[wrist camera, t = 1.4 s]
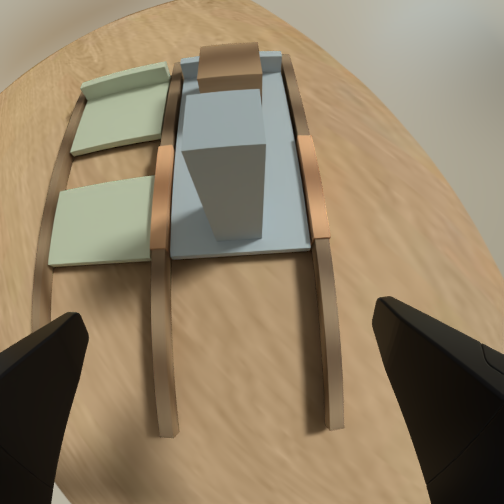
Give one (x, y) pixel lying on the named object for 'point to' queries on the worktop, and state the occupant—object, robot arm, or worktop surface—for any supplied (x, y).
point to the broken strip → (116, 192)
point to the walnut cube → (229, 68)
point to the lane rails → (162, 259)
